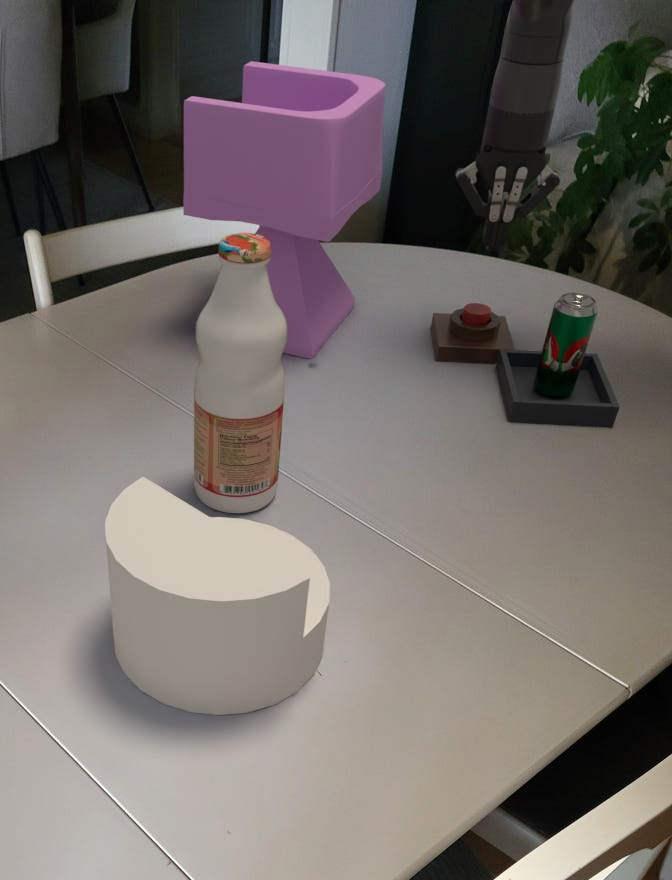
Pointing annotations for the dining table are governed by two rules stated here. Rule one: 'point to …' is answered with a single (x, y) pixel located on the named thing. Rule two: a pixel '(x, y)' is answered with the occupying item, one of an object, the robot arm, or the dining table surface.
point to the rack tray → (581, 407)
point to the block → (469, 338)
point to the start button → (476, 314)
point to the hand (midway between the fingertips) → (492, 248)
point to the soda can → (565, 344)
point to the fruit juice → (239, 382)
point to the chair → (289, 179)
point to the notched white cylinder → (211, 604)
